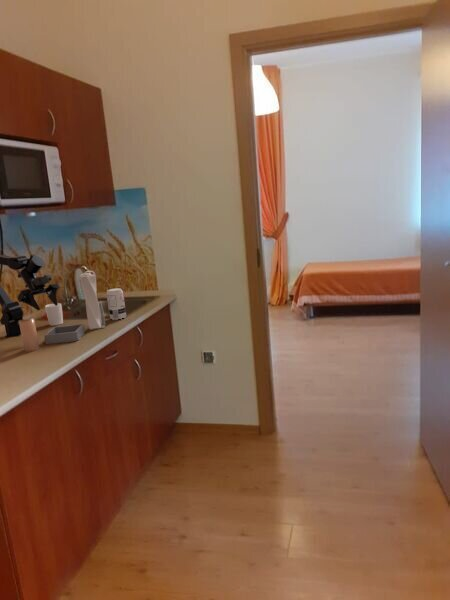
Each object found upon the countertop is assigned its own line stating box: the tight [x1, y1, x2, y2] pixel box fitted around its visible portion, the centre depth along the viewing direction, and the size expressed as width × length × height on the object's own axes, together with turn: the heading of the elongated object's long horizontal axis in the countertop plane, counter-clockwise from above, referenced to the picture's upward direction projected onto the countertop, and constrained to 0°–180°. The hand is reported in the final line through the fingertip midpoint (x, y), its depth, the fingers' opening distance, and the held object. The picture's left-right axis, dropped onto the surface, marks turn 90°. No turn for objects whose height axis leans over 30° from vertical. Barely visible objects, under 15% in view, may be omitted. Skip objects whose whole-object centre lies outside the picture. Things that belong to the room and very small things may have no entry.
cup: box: [19, 317, 40, 353], centre depth 200 cm, size 6×6×13 cm
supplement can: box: [106, 287, 127, 321], centre depth 241 cm, size 8×8×15 cm
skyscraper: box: [79, 270, 107, 331], centre depth 225 cm, size 8×8×28 cm
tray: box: [44, 323, 86, 345], centre depth 214 cm, size 14×14×4 cm
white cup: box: [44, 302, 64, 327], centre depth 243 cm, size 8×8×10 cm
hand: (48, 307), depth 212 cm, fingers open, 9 cm apart
